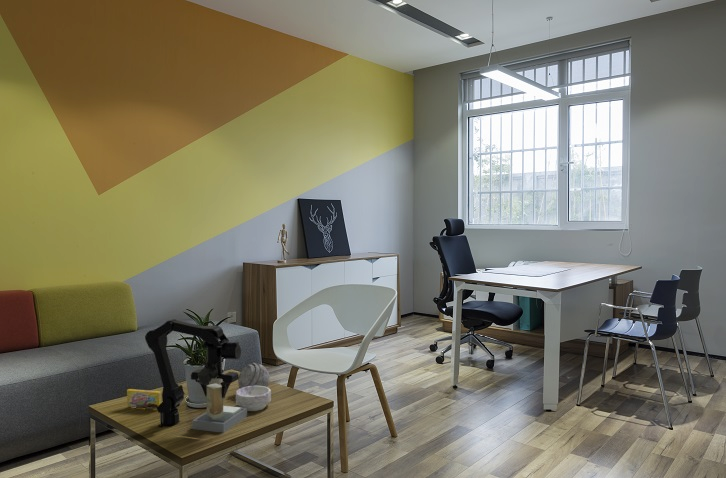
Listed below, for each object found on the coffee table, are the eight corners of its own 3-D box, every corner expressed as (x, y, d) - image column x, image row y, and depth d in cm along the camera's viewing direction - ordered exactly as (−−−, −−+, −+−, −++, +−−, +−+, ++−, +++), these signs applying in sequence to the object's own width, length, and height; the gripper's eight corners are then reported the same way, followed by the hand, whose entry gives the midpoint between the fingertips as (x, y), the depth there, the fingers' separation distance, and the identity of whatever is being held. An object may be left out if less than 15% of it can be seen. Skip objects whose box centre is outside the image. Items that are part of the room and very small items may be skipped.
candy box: (126, 408, 235) (126, 390, 235) (130, 407, 237) (129, 388, 237) (158, 411, 231) (158, 392, 231) (161, 409, 233) (161, 390, 233)
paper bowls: (263, 415, 224) (262, 397, 223) (229, 413, 227) (229, 395, 226) (276, 403, 239) (275, 386, 238) (244, 401, 242) (244, 384, 241)
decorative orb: (233, 393, 253) (232, 362, 253) (261, 387, 262) (260, 357, 261) (246, 401, 241) (246, 369, 241) (275, 395, 250) (274, 363, 250)
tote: (192, 430, 208) (192, 420, 208) (217, 414, 225) (217, 405, 225) (223, 434, 204) (223, 423, 204) (247, 417, 221) (247, 408, 221)
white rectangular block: (211, 420, 217) (211, 410, 217) (220, 414, 223) (219, 405, 223) (233, 422, 214) (233, 412, 214) (241, 417, 220) (241, 407, 220)
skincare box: (206, 415, 212) (205, 385, 212) (216, 412, 215) (215, 382, 215) (214, 419, 207) (213, 388, 207) (224, 416, 210) (223, 386, 210)
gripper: (181, 361, 206) (182, 401, 206) (223, 365, 200) (224, 406, 201) (198, 355, 216) (199, 392, 217) (239, 358, 211) (239, 396, 211)
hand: (214, 397), depth 211 cm, fingers closed on skincare box, 7 cm apart
